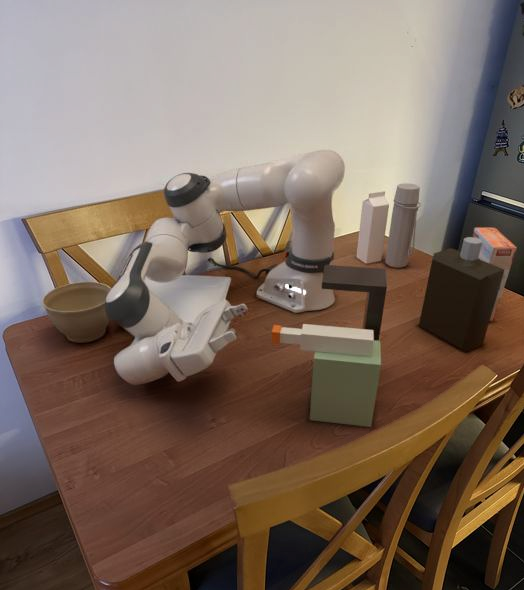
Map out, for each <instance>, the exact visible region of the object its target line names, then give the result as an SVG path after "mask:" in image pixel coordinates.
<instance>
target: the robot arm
mask: <svg viewBox="0 0 524 590" xmlns="http://www.w3.org/2000/svg"><path fill="white" fill-rule="evenodd" d="M345 171H346V166H345V162H344V159H343V158H342V156H341V155H340V154H339V153H338V152H336V151H335V150H332V149H319V150H314V151H310V152H305V153H300V154H297V155H293V156H289V157H284V158H281V159H278V160H274V161H270V162H264V163H258V164H253V165H249V166H248V165H247V166H242V167H241V166H240V167H237V168H233V169H230V170H226V171H223V172H221V173H218V174H216V175H214V176H213V177H211V178H209V177H207V176H206V175H201V174H200V175H199V174H198V173H193V172H183V173H179V174H177V175H175V176H173V177H172V178H171V179H169V180H168V181H167V182H166V184H165V186H164V188H163V195H164V196H163V197H164V199H165V202H166V204H167V206H168V207H169V208H170V209H169V210H170V211H171V214H172V215H173V217H161V218H158V219H156V220H155V221H154V222H153V223H152V225H151V226H150V228H149V230H148V232H147V234H146V236H145V241H143V242H141V243H140V244H138V245H136V247H135V248H133V249H132V251H131V252H130V253H129V255H128V256H127V258H126V260H125V262H124V264H123V267H122V269H121V271H120V273H119V275H118V277H117V278H116V281H115V282H114V284H113V285H112V286H111V287H110V288H111V289H110V291H109V292H108V294H107V295H106V297H105V312H106V316H107V317H108V319H110V321H111V322H113V323H114V324H116V325H118V326H119V327H120V328H123V329H124V330H125V331H126V332H128V333H129V334H130V335H131V336H132V337H134V339H133V341H132V342H131V344H130V345H128V346H126V347H125V348H123V349H122V350H121V351H119V352H118V353H117V354H116V355H115V356H114V358H113V365H114V366H113V367H114V368H115V370H116V373H117V374H118V376H119V377H120V378H121V379H123V381H124V382H126V383H127V384H129V385H134V386H136V385H137V386H138V385H144V384H147V383H152V382H154V381H157V380H159V379H161V378H164V377H165V376H168V374H170V375H171V376H172V377H173V379H175V381H176V382H182V381H184V380H185V379H187V377H191V376H193V375H195V374H197V373H200V372H202V371H204V370H206V369H207V368H208V367H210V366H211V365H212V364H213V363H214V360H215V358H216V356H217V353H218V351H220V350H222V349H223V348H224V347H226V346H227V345H228V344H229V343H232V342H234V341H236V340H237V337H238V332H237V331H236V329H234V328H230V329H229V327H230V325H231V322H232V320H233V319H234V318H235V317H237V316H238V317H239V318H241V317H243V316H245V315H247V313H248V311H249V308H248V307H247V305H246V304H245V303H240V304H239V305H238V304H237V305H232V304H231V303H230V301H228V300H227V299H226V300H222V301H220V302H218V303H216V304H214V305H212V306H210V307H209V308H207V309H205V310H203V311H202V312H200V313H199V314H198V315H197V317H196V319H195V320H194V322H193V324H192V325H189V324H188V323H186V322H183V321H182V319H181V318H180V317H179V316H178V315H177V314H176V313H175V312H174V311H173V310H172V309H171V308H170V307H168V306H167V305H166V304H165V303H164V302H163V301H162V300H160V299H159V298H158V297H157V296H156V295H155V294H154V293H153V292H152V291H151V290H150V289H149V288H148V286H147V285H146V284H145V282H144V279H145V277H147V278H149V279H150V280H152V281H155V282H159V283H167V282H172V281H174V280H176V279H178V278H179V277H180V276H182V275H184V274H185V271H186V270H187V266H188V259H189V252H191V253H199V254H206V253H208V254H209V253H213V252H215V251H216V250H219V249H220V248H221V247H222V246H223V245H224V244H225V242H226V240H227V237H228V235H227V228H226V225H225V223H224V222H223V219H222V217H221V213H223V212H249V211H255V210H264V209H272V208H277V207H281V206H284V205H287V204H289V205H288V206H289V210H290V216H291V246H290V248H289V249H287V250H286V251H285V252H284V253H283V254H282V256H283V257H282V259H285V260H284V261H283V262H280V263H279V264H276V263H274V264H272V265H270V266H268V267H266V268H262V269H260V270H259V271H258V273H257V275H253V274H252V273H251V272H250V271H249V270H247V269H246V268H244V267H241V266H237V265H236V266H235V265H227V264H220V263H217V261H216V260H215V259H214V258H212V257H208V258H207V260H206V261H207V262H210V261H211V262H212V264H214V266H217V267H218V268H219V267H220V268H224V269H225V268H226V269H235V270H241V271H243V272H244V273H246V274H247V275H248V276H250V277H251V278H253V279H254V280H255V279H259V278H260V276H261V274H262V273H264V272H265V280H264V282H263V283H262V284H261V285H259V287H257V290H256V298H258V299H259V300H263V301H265V302H268V303H271V304H273V305H275V306H277V307H280V308H283V309H285V310H287V311H290V312H292V313H295V314H298V313H304V312H307V311H309V312H310V311H320V310H324V309H327V308H329V307H331V306H332V305H333V304H334V303H335V301H336V298H335V292H334V290H330V289H322V279H323V273H324V268H325V265H335V252H334V243H335V231H336V224H335V221H334V215H333V198H334V197H333V196H334V194H335V192H336V191H337V189H339V187H340V186H341V185H342V183H343V180H344V177H345V173H346V172H345Z"/></svg>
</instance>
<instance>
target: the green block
mask: <svg viewBox="0 0 524 590" xmlns="http://www.w3.org/2000/svg"><path fill="white" fill-rule="evenodd" d="M381 349H382V348H381V340H379V341H376V340H374V342H373V348H372V355H371V357H368V356H357V355H347V354H337V353H326V352H316V351H314V353H313V363H312V364H313V365H312V378H311V379H312V381H311V393H310V394H311V396H310V410H309V421H315V422H323V423H332V424H333V423H334V424H339V425H340V424H341V425H351V426H358V427H367V428H372V424H373V417H374V412H375V405H376V399H377V392H378V387H379V381H380V374H381V368H382V351H381Z"/></svg>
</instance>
